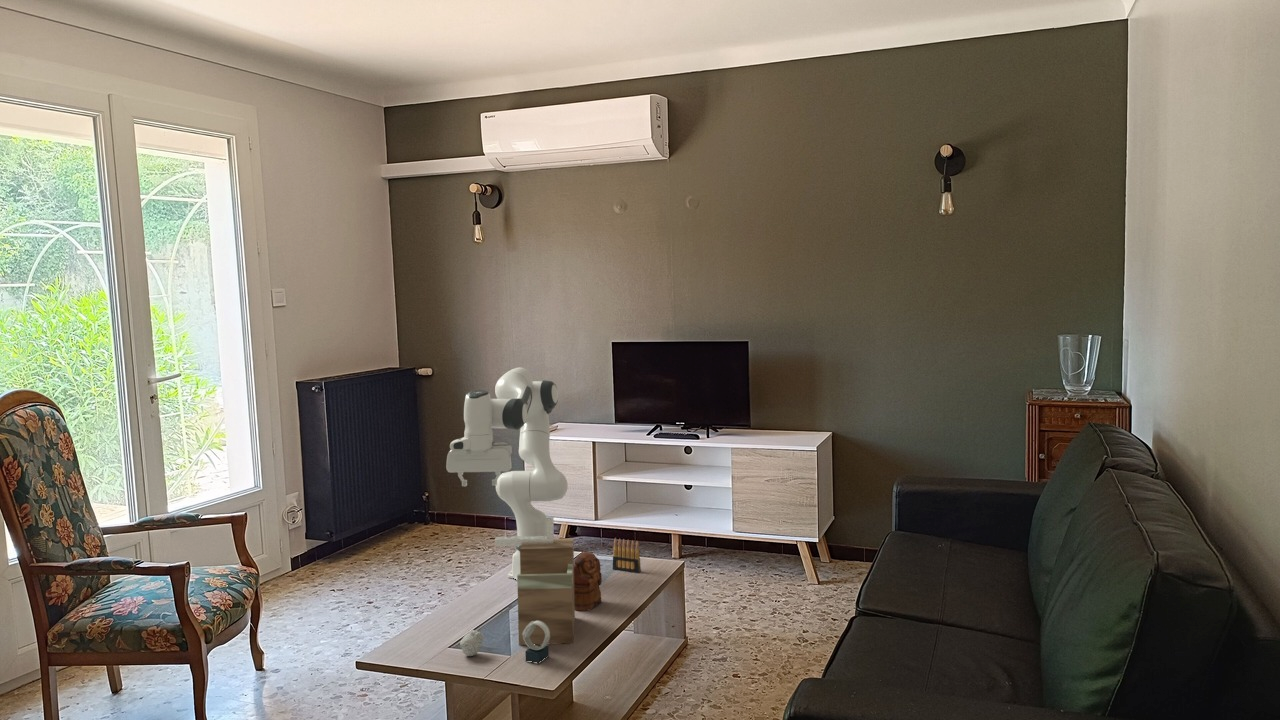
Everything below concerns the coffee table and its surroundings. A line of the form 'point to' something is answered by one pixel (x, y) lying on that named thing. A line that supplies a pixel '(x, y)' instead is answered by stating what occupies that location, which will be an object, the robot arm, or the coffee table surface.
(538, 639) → the stepped shelf
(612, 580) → the coffee table surface
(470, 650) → the white rough round lump
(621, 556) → the ammunition clip
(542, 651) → the watch
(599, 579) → the wooden figurine
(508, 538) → the aluminium bracket
